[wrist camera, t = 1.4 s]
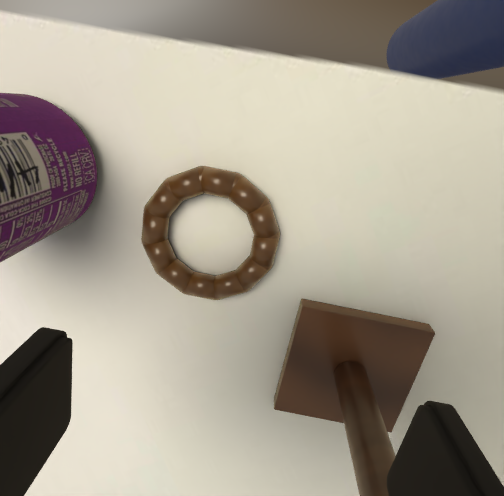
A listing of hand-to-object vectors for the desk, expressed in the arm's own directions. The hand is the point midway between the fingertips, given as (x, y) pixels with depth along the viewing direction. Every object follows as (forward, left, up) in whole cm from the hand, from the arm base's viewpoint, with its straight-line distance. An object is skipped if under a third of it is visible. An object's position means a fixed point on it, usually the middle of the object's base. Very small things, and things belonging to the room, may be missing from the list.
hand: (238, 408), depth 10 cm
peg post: (+7, +7, -12) cm, 16 cm away
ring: (0, -3, -12) cm, 12 cm away
